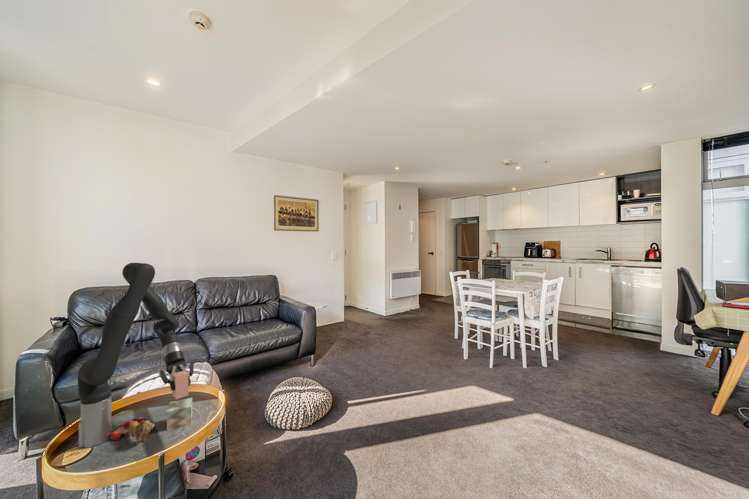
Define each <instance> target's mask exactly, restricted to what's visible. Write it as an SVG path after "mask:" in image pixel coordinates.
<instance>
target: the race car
mask: <svg viewBox="0 0 749 499" xmlns="http://www.w3.org/2000/svg"><path fill="white" fill-rule="evenodd" d="M135 421H137V422H138V423H139V424H141V423H143V422H145V421H147V419H146V417H144V416H139V417H134V418H132V419H129V420H127V421H125V422H124V423H123V424H121V425H119V427H118V428H117V429H115V430H113V432H111V435H110V438H109V439H110V440H111V441H117V440H121V439H123V438H125V437H126V436H127V435H126V434H127V433H129V426H130V424H131V423H132V422H135ZM132 433H133V431H132Z"/></svg>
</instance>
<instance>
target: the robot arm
mask: <svg viewBox="0 0 749 499" xmlns="http://www.w3.org/2000/svg"><path fill="white" fill-rule="evenodd" d="M155 275H156V268H155V267H154V266H153V265H152V264H149V263H143V262H129V263H127V264H126V265H125V266H124V267H123V269H122V276H123V279H124V280H125V281H126V282H127V283H128V284H129V286H128V289H127V291H126V292H125V294H124V295H123V296H122V297H121V298H120V299H119V300H118V301H117V302H116V303H115V304H114V305H113V307H111V309H110V310H109V312H108V314H107V316H106V318H105V321H104V323H103V324H102V325H103V326H102V331H101V332H102V333H101V344H100V348H99V351H98V353H97V355H96V357H95V358H91V359H89V360H87V361H85V362H84V363H83V364H82V365H80V368H79V369H78V372H77V387H78V388H77V389H78V396H79V398H80V421H79V423H78V448H79V449H80V448H92V447H96V446H98V445H102V444H103V443H105V442H107V441H108V440H109V439H110V435H111V433H112V388H111V387H110V384H109V380H110V379H111V378H112V377H113V376H114V374H115V371H116V368H117V366H118V361H119V358H120V354H121V352H122V349H123V347H124V344H125V342H126V339H127V337H128V335H129V332H130V329H131V328H132V325H133V323H134V322H135V319H136V316H137V312H138V310H139V308H140V306H141V303H143V305H144V306H145V308H146V310H147V311H148V313H149V316H150V317H151V319H153V321H156V322H154V324H153V325H152V326H153V327H152V330H153V332H154V333H155V335H156V337H158V339H159V341H160V344H161V348H162V354H163V356H162V357H163V359H164V364H165V369H163V370H162V369H161V370H160V371H159V373H158V375H159V377H160V379H161V380H162V382H163V384H165V385H167V384H169V386H170V390H171V391H172V390H173V391H175V389H176V388H175V384H174V381H173V374H175V373H177V372H180V371H186V372H187V373H188V387H190V385H191V383H192V382H191V378H190V377H192V376H193V374H194V371H195V370H194V369H195V368H194V367H195V365H194V364H195V362H193V361H191V362H188V363H187V361H186V360H185V355H184V351H183V348H182V345H181V343H180V342H181V341H180V340H179V339H180V338H179V336H178V334H177V333H175V332H174V331H176V330H179V327H180V322H179V319H178V318H176V316H174V315H173V314H172V313H171V312H170V311H169V309H168V308H167V305H166V304H165V302H164V300H163V298H162V297H161V296H160V295H159V294H158V293H157V292H156V291H155V290H154V289H153V288H152V287H151V284H152V283H153V281H154V278H155ZM171 332H173V333H171ZM186 368H188V369H189V372H188V369H186ZM166 374H169V375H170V376H169V378H168V377H167V375H166Z"/></svg>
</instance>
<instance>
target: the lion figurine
mask: <svg viewBox="0 0 749 499" xmlns="http://www.w3.org/2000/svg"><path fill="white" fill-rule="evenodd" d="M154 427H155V423H153V422H150V420H147V419H146V421H145V422H143V423H141V424H139V423H138V422H137V421H135V422H132V423H131V424H130V426H129V433H127V434H126V436H128V439H127V441H128V442H131V441H132V435H133V436H135V440H136V441H135V442H136V443H135V444H136V446H140V445H141V441H142V442H146V441H148V440H147V438H146V436H147V435H148V434H149V433H150V432H151V430H153V428H154ZM132 431H133V432H132ZM140 438H141V441H140Z"/></svg>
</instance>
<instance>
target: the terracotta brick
mask: <svg viewBox="0 0 749 499" xmlns="http://www.w3.org/2000/svg"><path fill="white" fill-rule="evenodd" d="M187 372H188V371H187ZM187 372H186V371H180V372H177V373H175V374H173V381H174V384H175V388H176V389H175V391H173V390H171V391H172V394H171V395H172V397H173V398H174V399H175V400H178V399H181V398H183V397H187V396H189V386H188V373H189V372H188V373H187Z"/></svg>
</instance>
